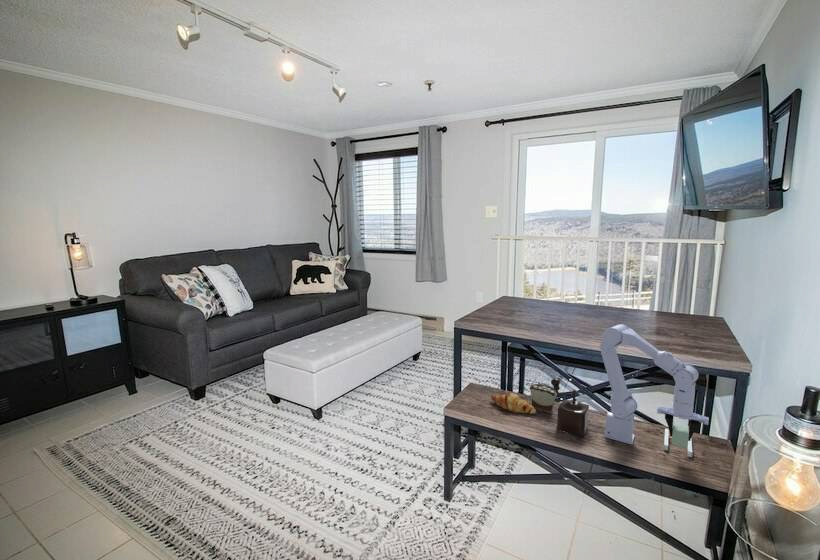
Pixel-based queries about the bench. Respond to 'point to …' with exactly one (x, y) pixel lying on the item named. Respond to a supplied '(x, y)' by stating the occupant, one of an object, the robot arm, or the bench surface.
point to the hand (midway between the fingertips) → (679, 437)
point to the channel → (671, 438)
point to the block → (680, 435)
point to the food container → (543, 397)
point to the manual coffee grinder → (571, 413)
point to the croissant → (513, 403)
